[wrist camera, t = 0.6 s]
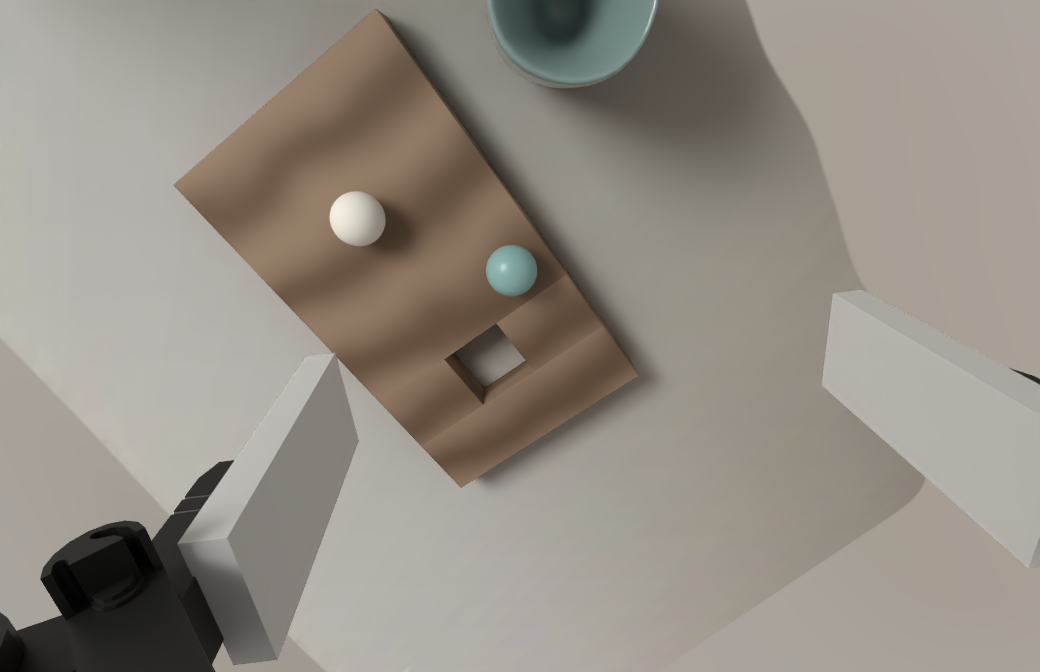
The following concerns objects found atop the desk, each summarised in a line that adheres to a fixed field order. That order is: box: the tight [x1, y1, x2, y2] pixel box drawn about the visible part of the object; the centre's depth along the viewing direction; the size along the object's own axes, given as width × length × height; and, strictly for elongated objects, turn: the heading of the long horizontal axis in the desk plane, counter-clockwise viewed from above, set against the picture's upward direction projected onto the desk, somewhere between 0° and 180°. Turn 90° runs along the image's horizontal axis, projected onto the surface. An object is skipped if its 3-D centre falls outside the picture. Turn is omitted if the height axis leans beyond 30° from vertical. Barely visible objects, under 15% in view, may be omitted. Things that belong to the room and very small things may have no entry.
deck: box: [174, 8, 638, 488], centre depth 38 cm, size 28×16×2 cm, turn 36°
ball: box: [330, 191, 386, 246], centre depth 33 cm, size 3×3×3 cm
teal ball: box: [486, 245, 537, 296], centre depth 35 cm, size 3×3×3 cm
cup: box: [486, 0, 660, 89], centre depth 29 cm, size 8×8×10 cm
